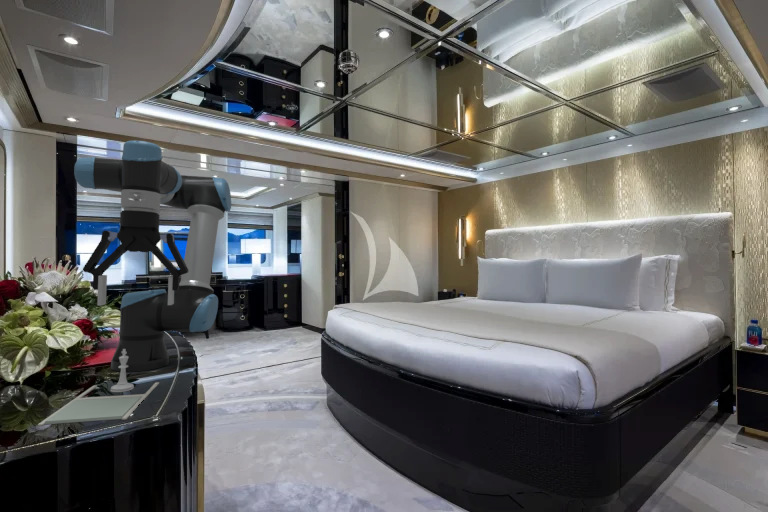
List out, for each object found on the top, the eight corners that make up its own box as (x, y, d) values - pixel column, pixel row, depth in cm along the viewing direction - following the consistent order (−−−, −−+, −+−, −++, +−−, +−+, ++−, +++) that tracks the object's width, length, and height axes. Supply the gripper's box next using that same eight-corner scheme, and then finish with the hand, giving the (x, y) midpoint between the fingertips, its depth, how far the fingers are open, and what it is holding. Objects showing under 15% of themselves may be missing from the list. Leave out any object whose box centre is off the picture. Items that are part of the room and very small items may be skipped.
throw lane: (93, 386, 98) (93, 384, 98) (159, 383, 103) (159, 381, 103) (37, 425, 74) (38, 422, 74) (126, 419, 79) (126, 416, 79)
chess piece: (115, 393, 94) (118, 352, 94) (106, 389, 96) (108, 349, 97) (137, 388, 98) (139, 348, 98) (128, 385, 100) (130, 346, 101)
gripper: (66, 205, 80) (62, 307, 80) (198, 213, 88) (195, 306, 88) (81, 208, 87) (78, 302, 87) (202, 216, 95) (199, 302, 95)
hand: (137, 304), depth 88 cm, fingers open, 13 cm apart
